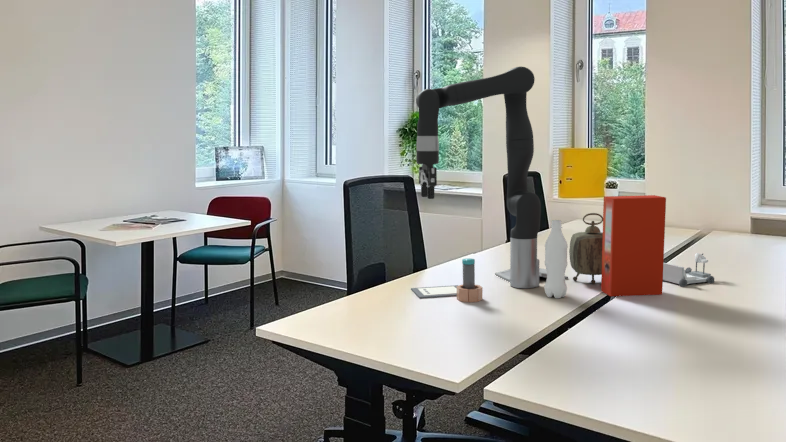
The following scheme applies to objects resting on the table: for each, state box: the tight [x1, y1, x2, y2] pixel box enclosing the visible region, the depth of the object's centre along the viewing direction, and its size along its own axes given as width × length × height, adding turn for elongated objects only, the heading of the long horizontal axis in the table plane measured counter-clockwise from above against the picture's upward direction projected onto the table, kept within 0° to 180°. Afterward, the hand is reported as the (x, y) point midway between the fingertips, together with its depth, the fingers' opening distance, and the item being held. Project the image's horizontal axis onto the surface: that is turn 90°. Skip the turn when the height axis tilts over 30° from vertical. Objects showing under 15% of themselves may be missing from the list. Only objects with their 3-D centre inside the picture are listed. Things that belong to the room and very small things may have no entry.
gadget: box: [494, 267, 569, 283], centre depth 234 cm, size 22×6×15 cm
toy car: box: [663, 252, 715, 288], centre depth 223 cm, size 18×10×12 cm
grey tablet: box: [410, 284, 459, 299], centre depth 213 cm, size 17×13×1 cm
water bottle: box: [543, 219, 569, 299], centre depth 203 cm, size 7×7×25 cm
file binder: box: [600, 194, 667, 298], centre depth 205 cm, size 8×17×32 cm, turn 95°
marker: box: [461, 258, 476, 289], centre depth 202 cm, size 4×4×12 cm
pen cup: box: [456, 284, 483, 303], centre depth 203 cm, size 8×8×4 cm
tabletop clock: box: [568, 212, 603, 285], centre depth 221 cm, size 14×9×25 cm, turn 84°
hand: (427, 197), depth 213 cm, fingers open, 8 cm apart
